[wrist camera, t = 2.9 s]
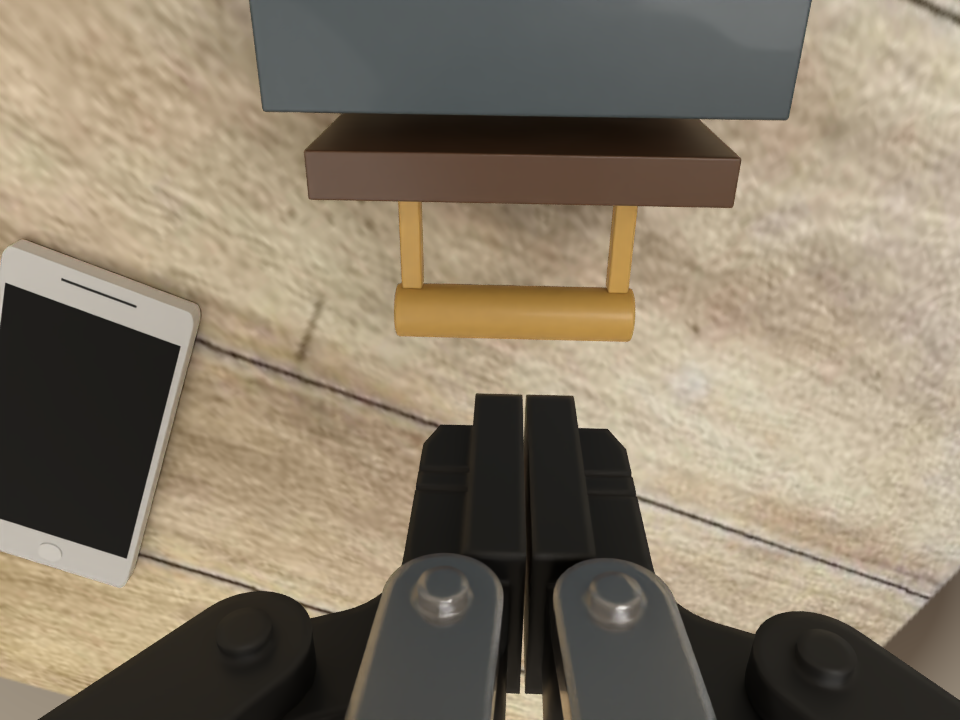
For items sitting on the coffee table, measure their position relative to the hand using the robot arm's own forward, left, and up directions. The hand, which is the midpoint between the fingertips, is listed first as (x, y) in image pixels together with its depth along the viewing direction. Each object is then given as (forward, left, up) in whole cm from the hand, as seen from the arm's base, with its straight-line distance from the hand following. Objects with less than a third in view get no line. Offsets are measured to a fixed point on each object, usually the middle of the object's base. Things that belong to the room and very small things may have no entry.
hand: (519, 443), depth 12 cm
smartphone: (+18, +11, -17) cm, 27 cm away
